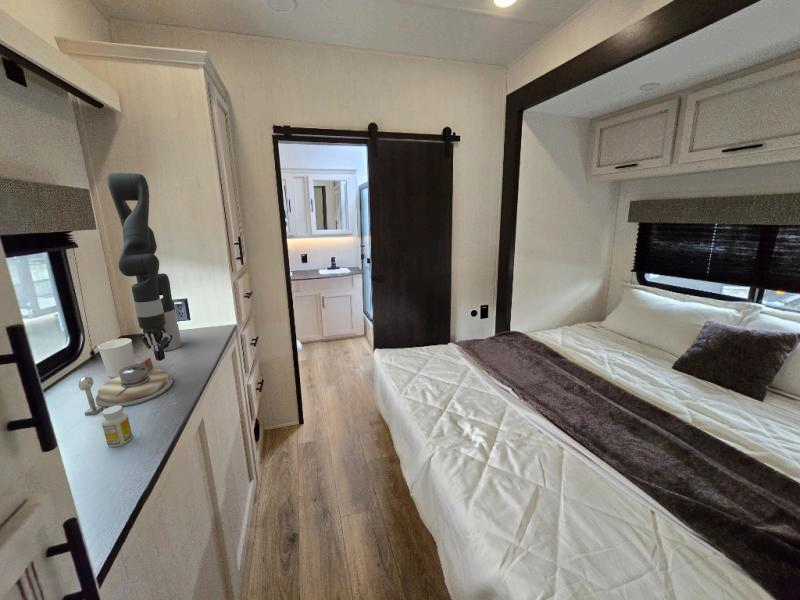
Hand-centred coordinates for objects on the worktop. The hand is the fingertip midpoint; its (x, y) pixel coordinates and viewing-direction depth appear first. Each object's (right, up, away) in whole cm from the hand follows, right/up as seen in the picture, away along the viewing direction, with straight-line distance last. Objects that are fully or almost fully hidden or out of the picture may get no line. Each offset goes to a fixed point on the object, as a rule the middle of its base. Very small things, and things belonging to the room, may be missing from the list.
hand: (160, 359), depth 120 cm
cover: (-5, -7, -4) cm, 10 cm away
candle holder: (-21, -7, +10) cm, 24 cm away
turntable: (-6, -9, -4) cm, 11 cm away
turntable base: (-6, -10, -3) cm, 12 cm away
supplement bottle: (+9, -17, -28) cm, 34 cm away
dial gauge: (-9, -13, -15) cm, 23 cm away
